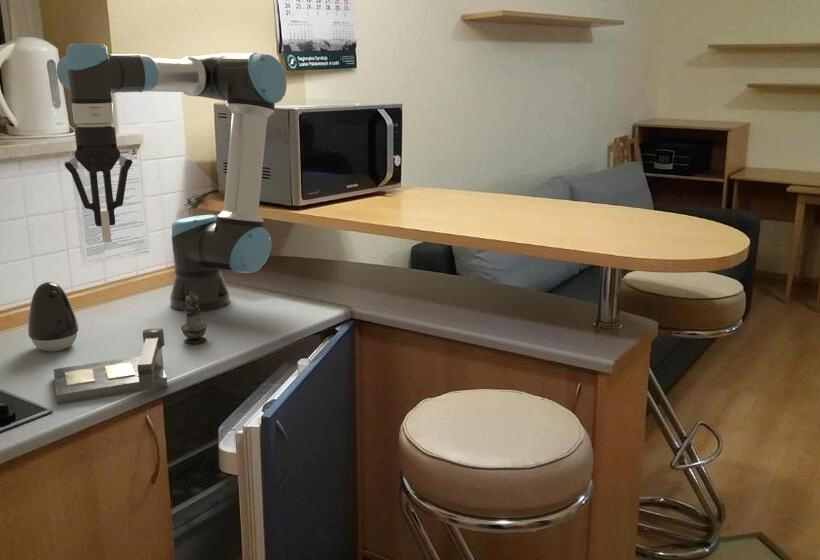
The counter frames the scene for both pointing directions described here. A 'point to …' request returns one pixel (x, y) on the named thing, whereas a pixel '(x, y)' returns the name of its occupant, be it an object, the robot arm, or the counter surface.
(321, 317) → the counter surface
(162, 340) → the lever
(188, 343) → the grey chess piece
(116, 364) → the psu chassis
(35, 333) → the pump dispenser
